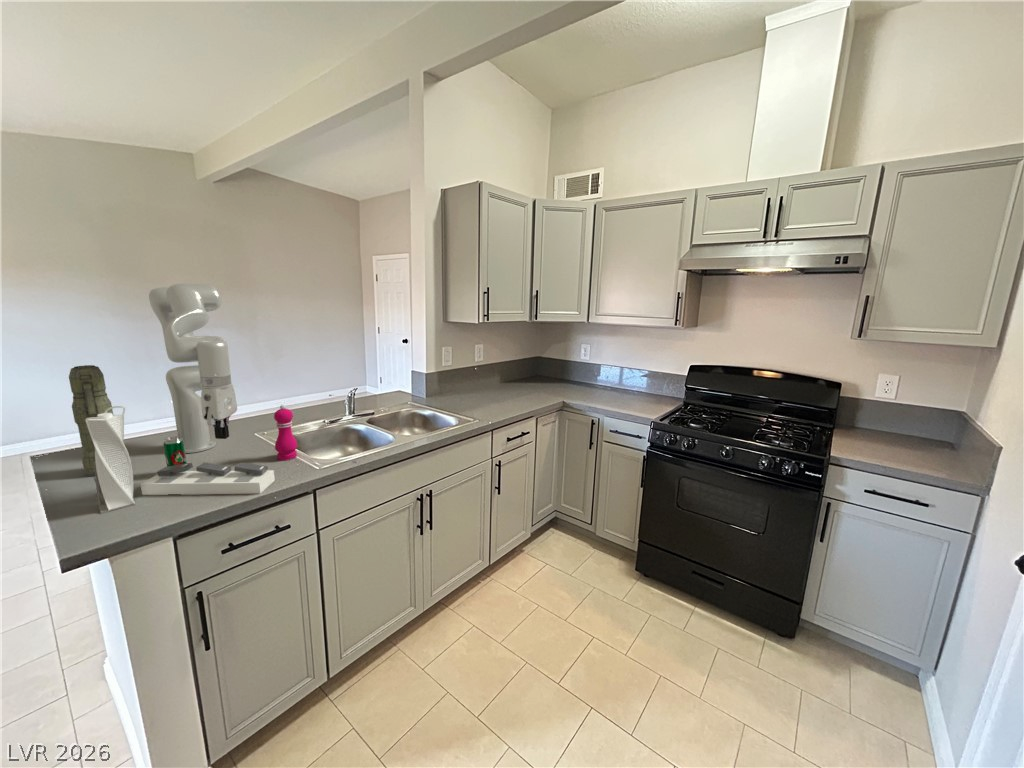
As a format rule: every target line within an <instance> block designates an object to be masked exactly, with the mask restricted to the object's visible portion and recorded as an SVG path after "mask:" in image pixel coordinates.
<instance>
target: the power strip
mask: <svg viewBox="0 0 1024 768" xmlns="http://www.w3.org/2000/svg"><path fill="white" fill-rule="evenodd" d="M275 480H276V479H275V470H272V469H268V470H267V471H266V472H265V473H264V474H262V475H257V474H251V473H250V474H249V475H247V474H246V473H244V472H237V471H234V470H231V471H230V472H229V473H227V474H226V475H224V476H223V475H217V474H212V475H209V474H208V473H204V472H198V471H196V470H187V471H185V472H180V473H176V474H174V475H170V474H168V475H162V476H158V474H157V473H156V475H154V476H152V477H150V478H149V479H146V480H145V481H144V482H141V483H140V488H141V489H140V490H141V495H142V496H160V495H161V496H166V495H168V494H181V495H236V494H237V495H238V494H239V495H240V494H243V495H247V494H249V495H251V494H252V495H254V494H262V493H263V492H264V491H265V490H266V489H268V487H269V486H270V485H272V484H273V483H274V481H275Z"/></svg>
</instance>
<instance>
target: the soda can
mask: <svg viewBox="0 0 1024 768" xmlns="http://www.w3.org/2000/svg"><path fill="white" fill-rule="evenodd" d="M162 444H163V449H164V450H163V451H164V456H165V464H166V467H168V466H175V465H181V464H187V456H186V453H185V448H184V441H183V439H182V438H181V437H180V436H178V435H177V436H169V437H167V438H165V439H164V441H163V443H162Z"/></svg>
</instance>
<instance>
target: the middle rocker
mask: <svg viewBox="0 0 1024 768" xmlns="http://www.w3.org/2000/svg"><path fill="white" fill-rule="evenodd" d="M195 469H196V470H195V471H198V472H204V473H208V474H209V475H212V474H217V475H223V476H224V475H226V474H227V473H229V472H230V471H232V466H229V465H223V464H218V463H211V462H203V463H201V464H199V465H197V466H196V468H195Z"/></svg>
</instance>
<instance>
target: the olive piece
mask: <svg viewBox="0 0 1024 768" xmlns="http://www.w3.org/2000/svg"><path fill="white" fill-rule="evenodd" d="M103 373H104V372H102V369H100V367H99V366H96V365H93V364H90V365H85V364H84V365H78V366H77V365H76V366H74V367H71V368H70V371H69V374H68V380H69V386H70V389H71V391H70V392H71V393H72V395H73V396H72V403H71V409H72V414H73V420H74V423H75V424H76V425H77V429H78V433H79V439H80V443H81V448H82V456H81V461H82V462H81V463H82V466H83V468H84V470H85V475H88V476H87V477H96V474H95V470H94V468H95V464H94V462H95V446H94V443H93V441H92V438H91V435H90V433H89V430H88V427H87V424H86V421H85V420H86V418H90V417H98V416H97V415H98V414H102V413H104V412H105V411H106V409H108V408H110V407H113V405H112V401H111V399H110V398H109V397H108V393H107V392H106V389H107V387H106V382H105V381H106V380H105V375H104V374H103ZM107 413H112V415H114V410H113V409H110V410H108V411H107Z"/></svg>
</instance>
